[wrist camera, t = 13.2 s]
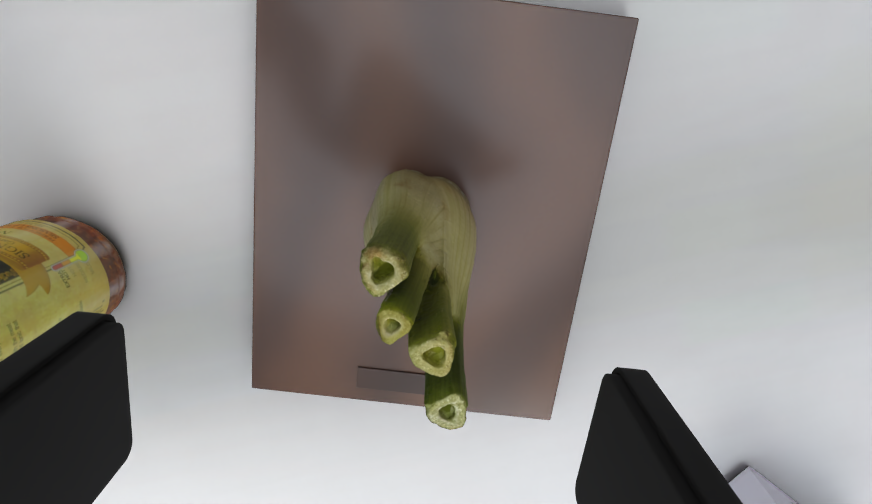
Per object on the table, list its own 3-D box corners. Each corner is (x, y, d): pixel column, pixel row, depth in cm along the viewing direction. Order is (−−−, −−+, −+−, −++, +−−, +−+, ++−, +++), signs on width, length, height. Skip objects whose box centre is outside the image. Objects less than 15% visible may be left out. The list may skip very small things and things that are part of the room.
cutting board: (260, 373, 29) (251, 389, 28) (267, -26, 23) (255, -33, 22) (545, 404, 30) (550, 421, 28) (627, 21, 24) (640, 18, 22)
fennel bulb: (467, 284, 26) (488, 446, 15) (367, 276, 26) (309, 434, 15) (479, 166, 24) (513, 246, 13) (372, 158, 24) (310, 231, 13)
